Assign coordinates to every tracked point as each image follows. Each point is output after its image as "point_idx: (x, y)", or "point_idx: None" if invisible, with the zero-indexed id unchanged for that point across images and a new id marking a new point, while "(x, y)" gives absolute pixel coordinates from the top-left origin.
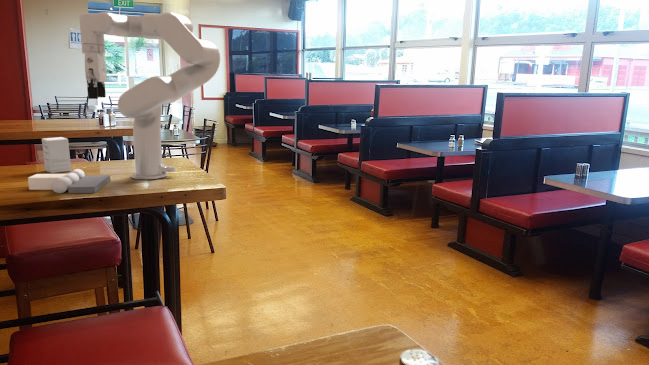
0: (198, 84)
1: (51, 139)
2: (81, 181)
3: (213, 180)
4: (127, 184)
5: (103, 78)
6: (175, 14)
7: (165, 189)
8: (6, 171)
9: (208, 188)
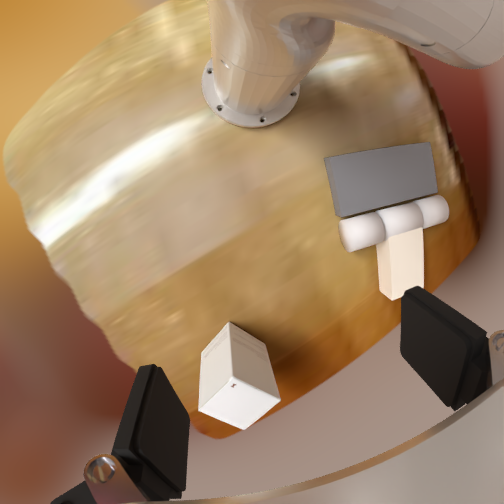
0: None
1: (261, 402)
2: (398, 192)
3: None
4: (349, 103)
5: (411, 499)
6: None
7: None
8: (261, 418)
9: None
